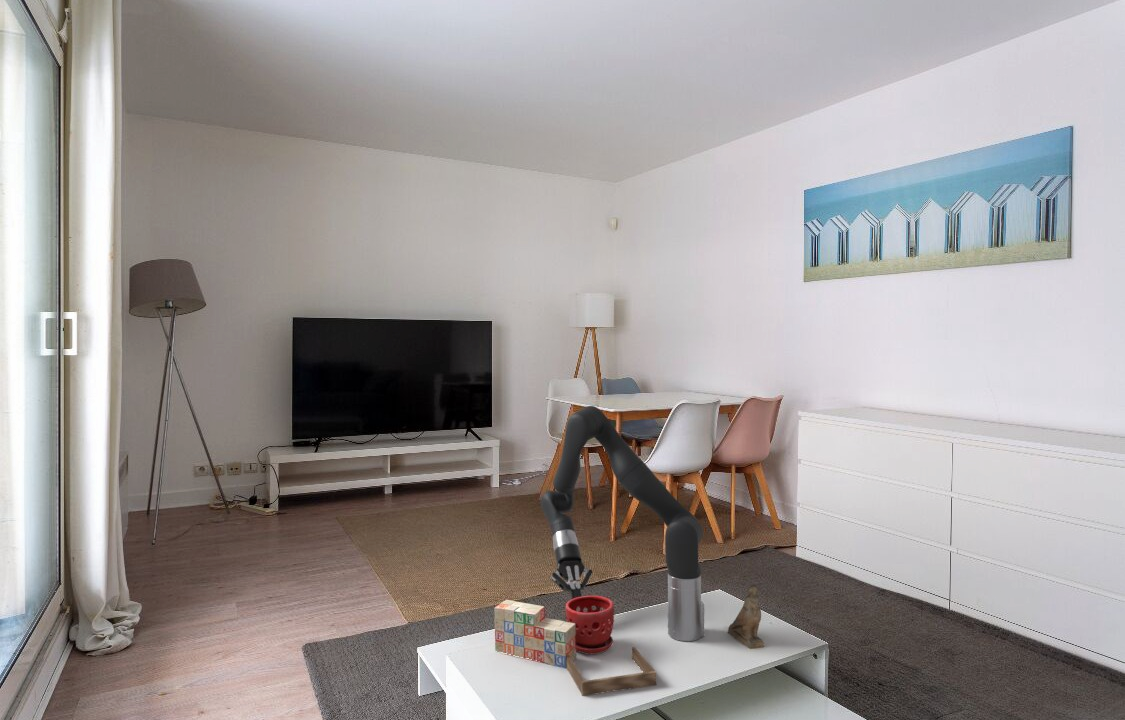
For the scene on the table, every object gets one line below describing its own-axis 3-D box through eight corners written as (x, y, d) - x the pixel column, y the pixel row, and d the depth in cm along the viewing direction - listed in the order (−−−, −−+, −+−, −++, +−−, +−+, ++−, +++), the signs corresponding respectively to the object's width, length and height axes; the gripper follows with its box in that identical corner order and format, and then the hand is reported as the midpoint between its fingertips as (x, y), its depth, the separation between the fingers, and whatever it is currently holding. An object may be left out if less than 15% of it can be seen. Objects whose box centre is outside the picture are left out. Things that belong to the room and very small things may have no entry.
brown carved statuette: (763, 655, 179) (772, 595, 175) (745, 657, 178) (753, 597, 174) (742, 628, 190) (750, 572, 186) (725, 630, 189) (732, 573, 185)
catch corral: (634, 658, 173) (634, 646, 173) (656, 684, 159) (656, 672, 159) (566, 667, 168) (566, 655, 168) (582, 695, 154) (582, 682, 154)
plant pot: (595, 632, 188) (595, 591, 188) (623, 650, 177) (623, 605, 177) (556, 643, 181) (556, 600, 181) (583, 662, 170) (583, 616, 170)
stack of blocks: (576, 658, 173) (575, 611, 173) (565, 669, 167) (565, 620, 167) (506, 642, 183) (506, 598, 182) (494, 652, 177) (493, 606, 177)
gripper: (547, 543, 197) (557, 599, 185) (589, 540, 200) (602, 595, 189) (543, 556, 202) (553, 611, 191) (584, 552, 206) (596, 606, 194)
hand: (577, 603), depth 190 cm, fingers closed
